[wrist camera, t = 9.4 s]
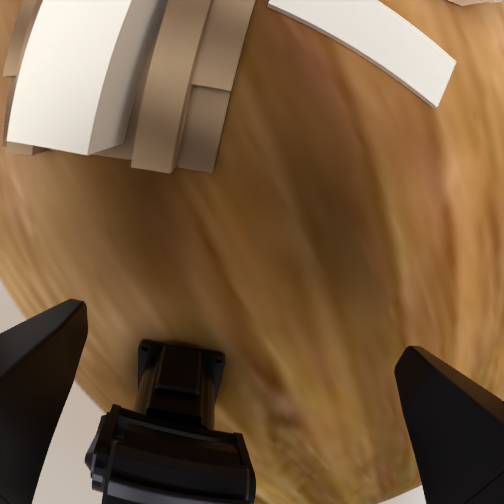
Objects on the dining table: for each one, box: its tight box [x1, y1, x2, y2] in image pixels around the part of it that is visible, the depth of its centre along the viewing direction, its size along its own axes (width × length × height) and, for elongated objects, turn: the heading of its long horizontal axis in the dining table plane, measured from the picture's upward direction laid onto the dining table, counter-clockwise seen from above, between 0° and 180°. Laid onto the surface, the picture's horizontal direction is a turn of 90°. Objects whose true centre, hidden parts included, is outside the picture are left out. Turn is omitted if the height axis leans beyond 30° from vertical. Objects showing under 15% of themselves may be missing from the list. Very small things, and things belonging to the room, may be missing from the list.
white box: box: [7, 0, 168, 155], centre depth 11 cm, size 12×4×5 cm, turn 163°
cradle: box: [3, 0, 255, 174], centre depth 12 cm, size 16×14×3 cm
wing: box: [267, 0, 456, 107], centre depth 15 cm, size 4×12×1 cm, turn 65°
